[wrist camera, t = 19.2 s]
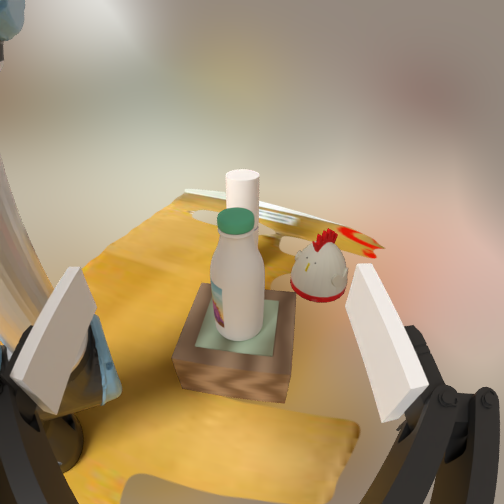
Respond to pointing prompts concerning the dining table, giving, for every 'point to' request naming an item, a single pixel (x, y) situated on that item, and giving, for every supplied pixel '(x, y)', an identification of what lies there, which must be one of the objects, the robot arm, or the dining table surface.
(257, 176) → the cylindrical container
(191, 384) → the walnut stand
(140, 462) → the dining table surface
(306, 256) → the kitchen timer
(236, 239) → the milk bottle
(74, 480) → the dining table surface
